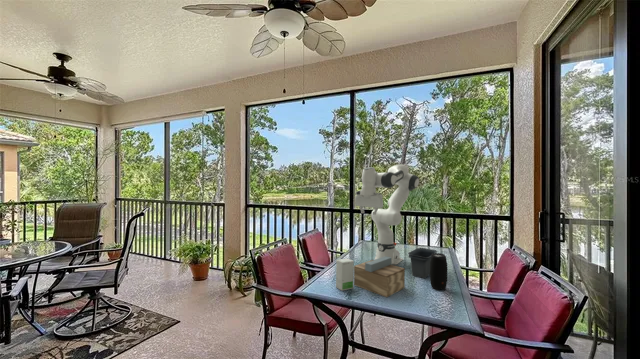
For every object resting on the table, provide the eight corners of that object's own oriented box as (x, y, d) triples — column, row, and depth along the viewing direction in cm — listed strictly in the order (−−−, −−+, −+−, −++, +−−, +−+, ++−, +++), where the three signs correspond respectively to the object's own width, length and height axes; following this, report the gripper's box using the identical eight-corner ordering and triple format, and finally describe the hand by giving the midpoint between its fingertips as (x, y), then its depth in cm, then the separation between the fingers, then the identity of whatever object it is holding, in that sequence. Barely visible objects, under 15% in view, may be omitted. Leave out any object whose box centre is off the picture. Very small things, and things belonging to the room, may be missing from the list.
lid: (372, 261, 168) (372, 259, 168) (404, 270, 152) (404, 268, 152) (354, 267, 156) (354, 265, 156) (386, 277, 140) (386, 276, 140)
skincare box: (341, 291, 147) (341, 262, 147) (335, 286, 153) (335, 259, 153) (354, 288, 151) (354, 260, 151) (347, 284, 157) (347, 257, 157)
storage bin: (427, 281, 163) (427, 257, 163) (403, 274, 174) (403, 252, 173) (438, 272, 179) (439, 250, 179) (415, 267, 190) (416, 246, 190)
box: (372, 277, 168) (372, 261, 168) (404, 288, 152) (404, 270, 152) (353, 284, 156) (354, 267, 156) (386, 297, 140) (386, 278, 140)
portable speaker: (448, 292, 147) (448, 257, 147) (430, 290, 150) (430, 256, 150) (445, 286, 155) (446, 253, 155) (428, 284, 158) (429, 252, 158)
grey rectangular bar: (385, 262, 162) (385, 256, 162) (391, 264, 159) (391, 257, 159) (365, 270, 149) (365, 263, 149) (371, 272, 146) (371, 264, 146)
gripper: (385, 193, 168) (385, 215, 168) (359, 191, 183) (359, 212, 183) (379, 193, 164) (379, 216, 164) (353, 191, 179) (353, 212, 179)
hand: (368, 213), depth 173 cm, fingers open, 8 cm apart
